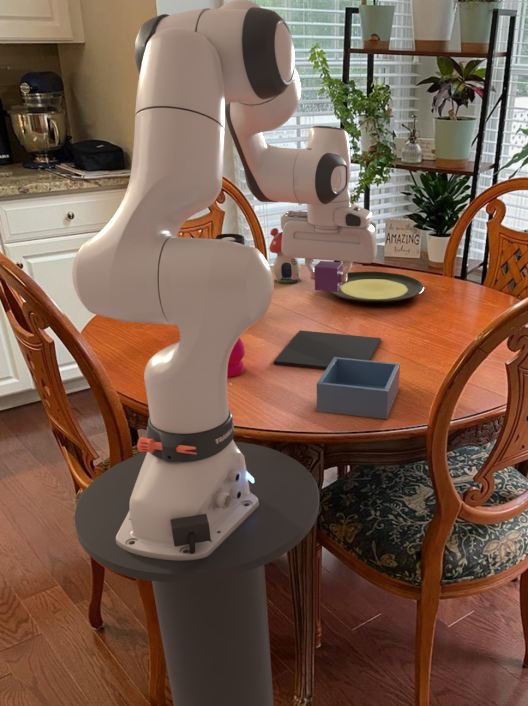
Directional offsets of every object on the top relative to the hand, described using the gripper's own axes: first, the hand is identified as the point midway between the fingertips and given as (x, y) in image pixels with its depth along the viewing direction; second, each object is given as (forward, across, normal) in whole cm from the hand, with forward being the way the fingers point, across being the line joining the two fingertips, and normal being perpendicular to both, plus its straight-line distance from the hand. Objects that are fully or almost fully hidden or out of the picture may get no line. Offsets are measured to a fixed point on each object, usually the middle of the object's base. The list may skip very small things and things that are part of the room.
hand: (329, 280), depth 153 cm
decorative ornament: (+17, -26, +51) cm, 60 cm away
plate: (+17, +1, +46) cm, 49 cm away
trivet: (+16, 0, 0) cm, 16 cm away
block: (+2, 0, 0) cm, 2 cm away
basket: (+16, +12, -23) cm, 31 cm away
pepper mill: (+17, -18, -16) cm, 29 cm away
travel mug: (+17, -29, +16) cm, 37 cm away
